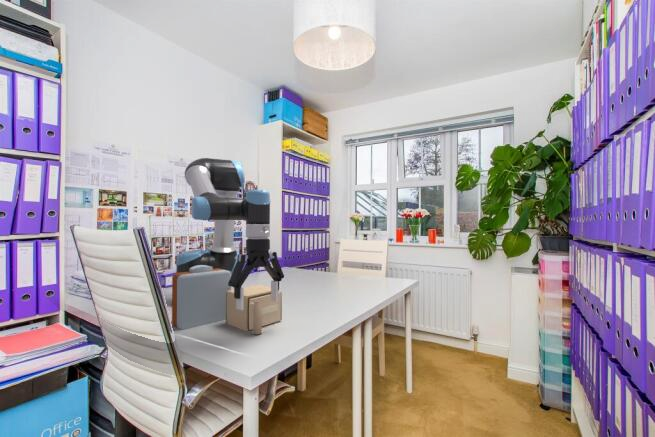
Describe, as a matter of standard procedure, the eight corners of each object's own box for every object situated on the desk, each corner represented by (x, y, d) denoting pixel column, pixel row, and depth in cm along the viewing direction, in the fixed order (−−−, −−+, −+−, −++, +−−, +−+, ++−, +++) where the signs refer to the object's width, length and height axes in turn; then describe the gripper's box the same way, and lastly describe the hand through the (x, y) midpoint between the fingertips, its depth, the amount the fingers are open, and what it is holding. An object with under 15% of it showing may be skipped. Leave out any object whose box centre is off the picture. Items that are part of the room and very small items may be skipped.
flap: (245, 330, 102) (245, 299, 102) (280, 319, 114) (280, 291, 114) (256, 334, 98) (256, 303, 98) (291, 322, 110) (292, 294, 110)
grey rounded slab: (221, 314, 123) (221, 262, 123) (232, 319, 116) (232, 264, 116) (171, 325, 110) (171, 267, 110) (180, 332, 103) (180, 270, 103)
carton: (226, 324, 111) (226, 290, 111) (258, 315, 121) (258, 284, 121) (246, 332, 103) (246, 296, 103) (278, 322, 114) (278, 289, 114)
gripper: (230, 240, 88) (230, 315, 88) (294, 237, 108) (294, 299, 107) (216, 239, 93) (216, 310, 93) (279, 236, 112) (279, 295, 112)
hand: (258, 304), depth 100 cm, fingers open, 13 cm apart
